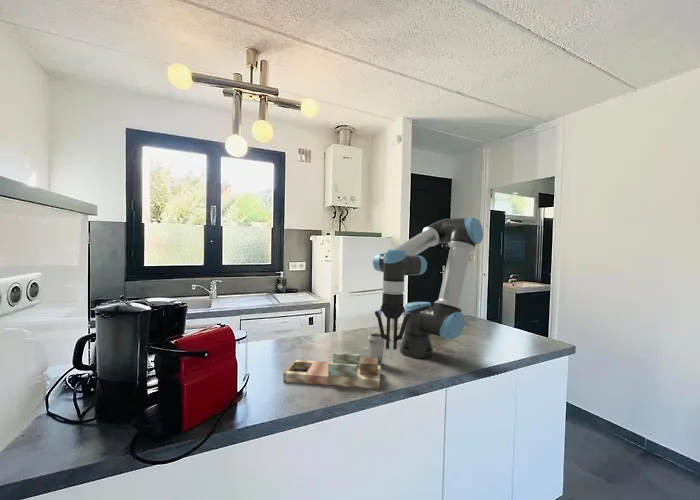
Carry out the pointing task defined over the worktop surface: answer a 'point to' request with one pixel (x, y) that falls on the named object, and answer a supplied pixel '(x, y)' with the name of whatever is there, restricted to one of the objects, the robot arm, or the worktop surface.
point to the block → (368, 366)
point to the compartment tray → (332, 372)
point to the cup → (376, 346)
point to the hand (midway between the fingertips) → (390, 358)
